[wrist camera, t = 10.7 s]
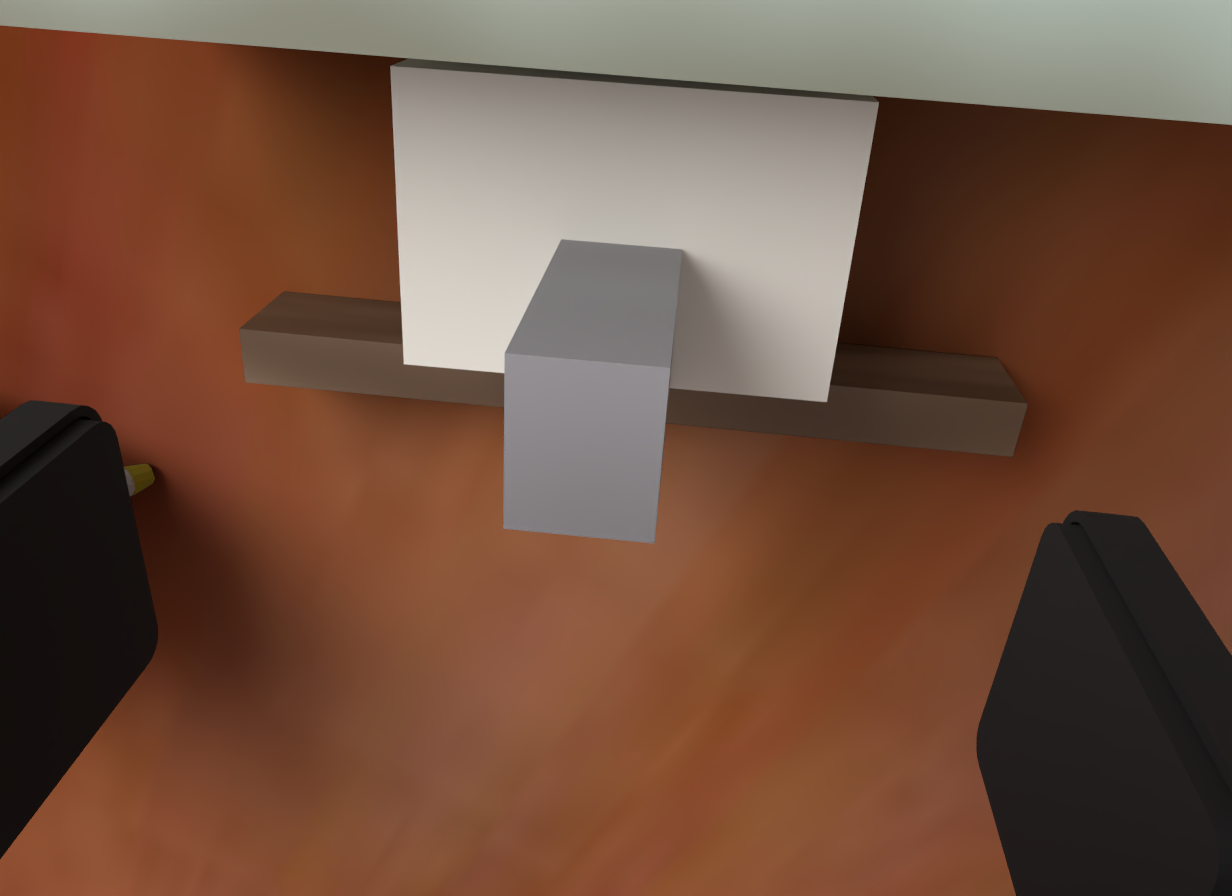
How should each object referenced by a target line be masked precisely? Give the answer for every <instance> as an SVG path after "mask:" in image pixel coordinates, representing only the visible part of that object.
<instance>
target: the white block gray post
mask: <svg viewBox="0 0 1232 896" xmlns="http://www.w3.org/2000/svg"><path fill="white" fill-rule="evenodd" d="M390 70H391V93H392V115H393V137H394V159H395V181H396V203H397V225H398V247H399V269H400V291H401V313H402V335H403V358H404V364H407V365H418V366H429V367H440V368H451V369H463V370H474V371H485V372H496V373H504V526H503V529H512V530H522V531H533V532H543V533H553V534H563V535H573V536H584V537H594V538H604V539H614V540H624V541H635V542H645V543H654V541H655V531H656V521H657V511H658V501H659V490H660V480H661V470H662V460H663V449H664V439H665V429H666V419H667V409H668V398H669V388H674V389H685V390H697V391H708V392H719V393H730V394H741V395H752V396H763V397H774V398H786V399H797V400H808V401H819V402H827V398H828V392H829V386H830V381H831V375H832V369H833V363H834V358H835V352H836V346H837V341H838V335H839V329H840V323H841V318H842V312H843V306H844V301H845V295H846V289H847V283H848V278H849V272H850V266H851V261H852V255H853V249H854V243H855V238H856V232H857V226H858V220H859V215H860V209H861V203H862V198H863V192H864V186H865V180H866V175H867V169H868V163H869V158H870V152H871V146H872V140H873V135H874V129H875V123H876V117H877V112H878V106H879V102H878V101H877V100H876V99H875V98H874V97H873V96H869V95H857V94H845V93H832V92H820V91H807V90H795V89H783V88H770V87H758V86H746V85H733V84H721V83H709V82H696V81H684V80H672V79H659V78H647V77H634V76H622V75H610V74H597V73H585V72H573V71H560V70H548V69H536V68H523V67H511V66H498V65H486V64H474V63H461V62H449V61H437V60H424V59H412V58H409V59H406V60H404V61H401V62H399V63H396V64H394V65H392V66H390Z"/></svg>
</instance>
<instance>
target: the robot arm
mask: <svg viewBox="0 0 1232 896" xmlns="http://www.w3.org/2000/svg"><path fill="white" fill-rule="evenodd" d="M157 640H158V626H157V621H156V616H155V611H154V607H153V602H152V597H151V593H150V588H149V583H148V579H147V574H146V569H145V565H144V560H143V555H142V551H141V546H140V541H139V537H138V532H137V527H136V523H135V518H134V513H133V509H132V504H131V499H130V494H129V490H128V485H127V480H126V476H125V471H124V466H123V462H122V457H121V452H120V448H119V443H118V438H117V435H116V432H115V430H114V429H113V427H112V426H111V425H110V424H108V423H107V422H102V420H101V417H100V416H99V414H98V413H97V412H96V410H94V409H93V408H91V407H89V406H83V405H73V404H64V403H54V402H45V401H28V402H26V403H24V404H22V405H20V406H19V407H17V408H16V409H15V410H13V411H12V412H10V413H9V414H8V415H6V416H5V417H3V418H2V419H1V420H0V859H1V858H2V856H3V855H4V854H5V852H6V851H7V850H8V848H9V847H10V846H11V844H12V843H13V842H14V840H15V839H16V838H17V836H18V835H19V834H20V833H21V831H22V830H23V829H24V827H25V826H26V825H27V823H28V822H29V821H30V819H31V818H32V817H33V815H34V814H35V813H36V811H37V810H38V809H39V807H40V806H41V805H42V803H43V802H44V801H45V800H46V798H47V797H48V796H49V794H50V793H51V792H52V790H53V789H54V788H55V786H56V785H57V784H58V782H59V781H60V780H61V778H62V777H63V776H64V774H65V773H66V772H67V771H68V769H69V768H70V767H71V765H72V764H73V763H74V761H75V760H76V759H77V757H78V756H79V755H80V753H81V752H82V751H83V749H84V748H85V747H86V745H87V744H88V743H89V742H90V740H91V739H92V738H93V736H94V735H95V734H96V732H97V731H98V730H99V728H100V727H101V726H102V724H103V723H104V722H105V720H106V719H107V718H108V716H109V715H110V714H111V713H112V711H113V710H114V709H115V707H116V706H117V705H118V703H119V702H120V701H121V699H122V698H123V697H124V695H125V694H126V693H127V691H128V690H129V689H130V687H131V686H132V685H133V683H134V682H135V681H136V680H137V678H138V677H139V676H140V674H141V673H142V672H143V670H144V669H145V668H146V666H147V665H148V664H149V662H150V660H151V659H152V657H153V654H154V652H155V649H156V645H157ZM977 758H978V762H979V767H980V770H981V774H982V777H983V781H984V784H985V788H986V791H987V795H988V798H989V802H990V805H991V809H992V812H993V816H994V819H995V823H996V826H997V830H998V833H999V837H1000V840H1001V844H1002V847H1003V851H1004V854H1005V858H1006V861H1007V865H1008V868H1009V872H1010V875H1011V879H1012V882H1013V886H1014V889H1015V893H1016V896H1232V656H1231V654H1230V653H1229V651H1228V650H1227V648H1226V647H1225V645H1224V644H1223V642H1222V641H1221V639H1220V638H1219V636H1218V635H1217V633H1216V632H1215V630H1214V629H1213V627H1212V626H1211V624H1210V622H1209V621H1208V619H1207V618H1206V616H1205V615H1204V613H1203V612H1202V610H1201V609H1200V607H1199V606H1198V604H1197V603H1196V601H1195V600H1194V598H1193V597H1192V595H1191V594H1190V592H1189V591H1188V589H1187V588H1186V586H1185V584H1184V583H1183V581H1182V580H1181V578H1180V577H1179V575H1178V574H1177V572H1176V571H1175V569H1174V568H1173V566H1172V565H1171V563H1170V562H1169V560H1168V559H1167V557H1166V556H1165V554H1164V553H1163V551H1162V550H1161V548H1160V546H1159V545H1158V543H1157V542H1156V540H1155V539H1154V537H1153V536H1152V534H1151V533H1150V531H1149V530H1148V528H1147V527H1146V525H1145V524H1144V523H1143V522H1142V521H1141V520H1140V519H1139V518H1138V517H1134V516H1126V515H1116V514H1107V513H1098V512H1088V511H1079V510H1075V511H1073V512H1071V513H1070V514H1069V515H1068V516H1067V517H1066V519H1065V520H1064V522H1063V524H1061V523H1051V524H1049V525H1048V526H1047V527H1046V528H1045V530H1044V532H1043V534H1042V537H1041V540H1040V543H1039V546H1038V549H1037V552H1036V555H1035V558H1034V561H1033V564H1032V567H1031V570H1030V573H1029V576H1028V579H1027V582H1026V585H1025V588H1024V591H1023V594H1022V597H1021V600H1020V603H1019V606H1018V609H1017V612H1016V615H1015V618H1014V621H1013V624H1012V627H1011V630H1010V633H1009V636H1008V639H1007V642H1006V645H1005V648H1004V651H1003V654H1002V657H1001V660H1000V663H999V666H998V669H997V672H996V675H995V678H994V681H993V684H992V687H991V690H990V693H989V696H988V699H987V702H986V705H985V708H984V711H983V714H982V717H981V720H980V723H979V727H978V732H977Z"/></svg>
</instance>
